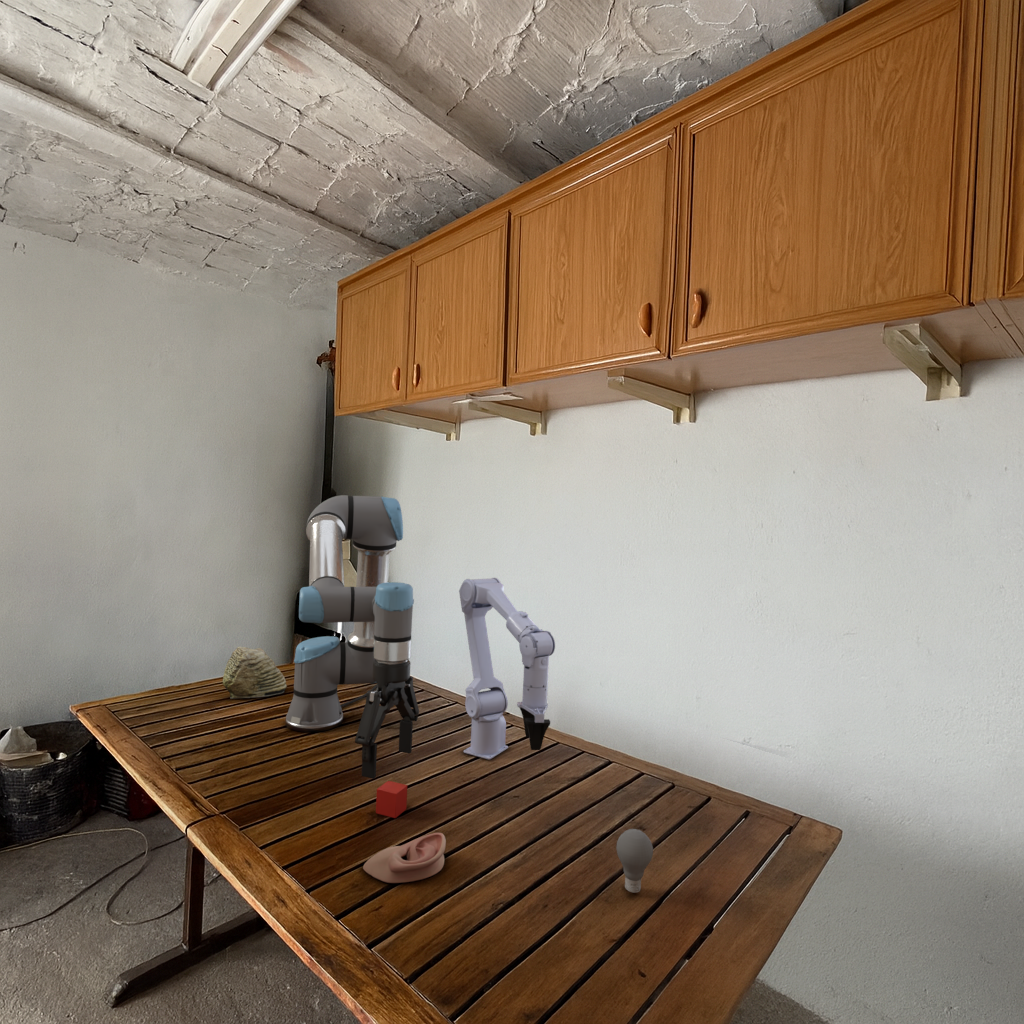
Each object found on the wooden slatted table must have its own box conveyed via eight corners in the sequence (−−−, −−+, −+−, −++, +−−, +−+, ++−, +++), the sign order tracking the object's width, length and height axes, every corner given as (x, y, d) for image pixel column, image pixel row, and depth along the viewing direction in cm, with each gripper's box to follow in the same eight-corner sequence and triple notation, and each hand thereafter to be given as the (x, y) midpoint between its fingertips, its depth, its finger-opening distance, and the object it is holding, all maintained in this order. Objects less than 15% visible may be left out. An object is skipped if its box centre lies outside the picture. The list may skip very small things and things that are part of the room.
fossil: (218, 695, 195) (220, 647, 195) (278, 685, 208) (279, 640, 207) (228, 703, 189) (230, 653, 188) (289, 692, 201) (290, 645, 201)
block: (387, 804, 132) (388, 780, 132) (406, 809, 130) (407, 785, 130) (375, 813, 128) (376, 788, 128) (395, 818, 126) (396, 793, 126)
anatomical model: (355, 854, 106) (383, 820, 117) (354, 877, 106) (382, 841, 117) (431, 866, 103) (452, 831, 114) (430, 890, 103) (451, 852, 114)
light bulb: (610, 879, 108) (613, 822, 108) (644, 879, 109) (647, 822, 109) (619, 902, 102) (622, 840, 102) (655, 901, 103) (658, 840, 103)
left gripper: (407, 645, 141) (403, 739, 142) (338, 671, 118) (334, 784, 118) (437, 649, 139) (433, 745, 139) (372, 677, 115) (368, 792, 116)
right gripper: (514, 675, 153) (511, 731, 153) (522, 694, 138) (520, 755, 139) (543, 675, 154) (540, 731, 154) (554, 694, 139) (551, 755, 139)
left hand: (387, 763), depth 129 cm, fingers open, 13 cm apart
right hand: (532, 742), depth 146 cm, fingers open, 7 cm apart
